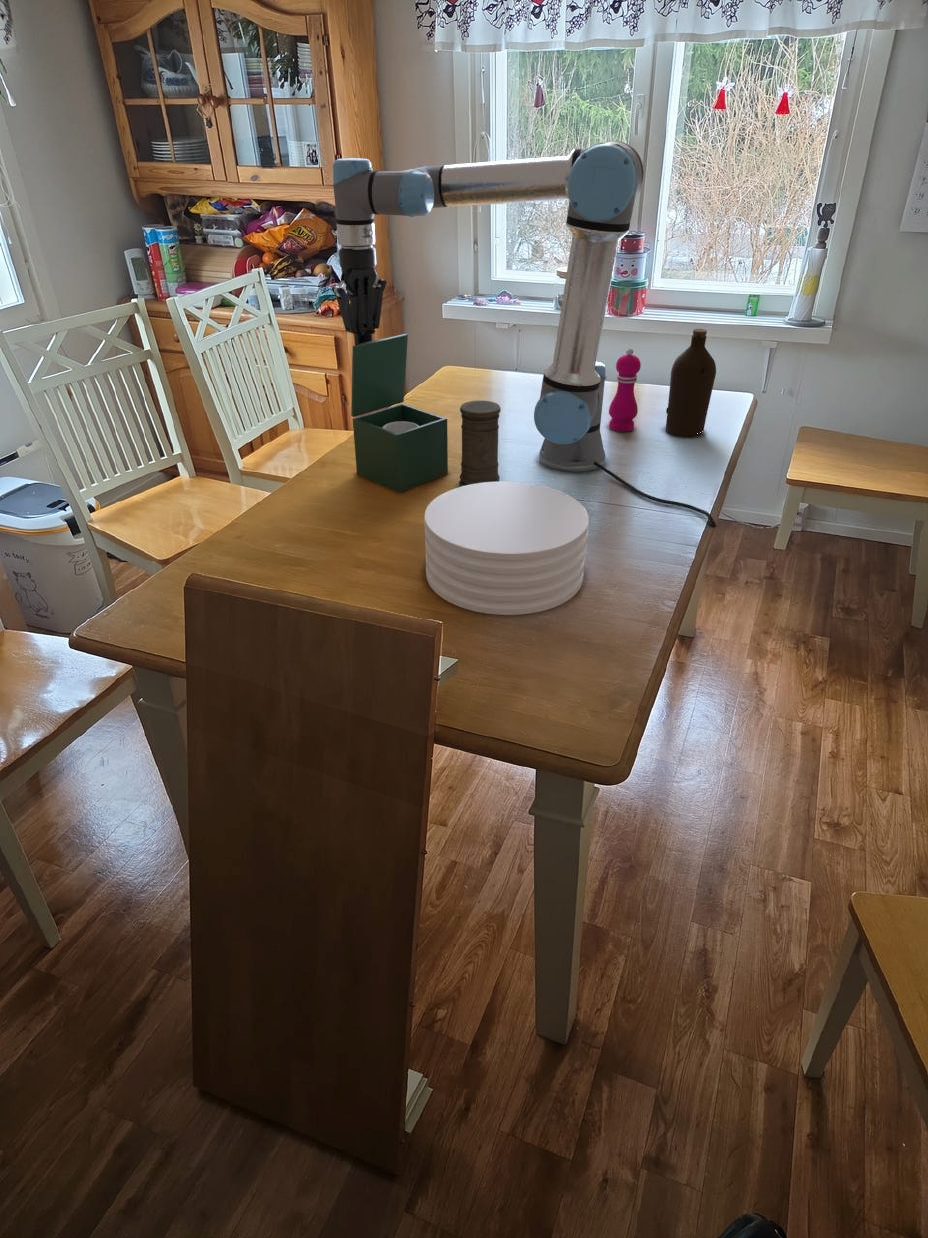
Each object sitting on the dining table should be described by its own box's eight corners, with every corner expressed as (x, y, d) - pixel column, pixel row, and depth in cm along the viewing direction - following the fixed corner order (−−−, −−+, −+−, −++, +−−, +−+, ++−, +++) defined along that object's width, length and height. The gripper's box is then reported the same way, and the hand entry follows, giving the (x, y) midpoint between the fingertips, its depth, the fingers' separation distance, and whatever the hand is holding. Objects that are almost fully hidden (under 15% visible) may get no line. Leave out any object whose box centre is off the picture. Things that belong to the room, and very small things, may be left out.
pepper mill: (639, 426, 205) (649, 347, 194) (628, 434, 200) (638, 353, 189) (613, 421, 209) (622, 343, 198) (602, 429, 204) (610, 349, 193)
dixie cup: (391, 480, 174) (389, 436, 168) (379, 466, 180) (376, 424, 175) (426, 474, 177) (425, 430, 171) (413, 461, 183) (411, 418, 178)
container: (496, 497, 168) (498, 414, 159) (455, 493, 170) (454, 411, 160) (503, 480, 176) (505, 400, 166) (463, 477, 177) (463, 397, 167)
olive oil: (714, 432, 202) (732, 330, 188) (688, 442, 196) (704, 337, 182) (680, 421, 208) (695, 322, 195) (654, 430, 203) (668, 329, 189)
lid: (408, 334, 170) (393, 327, 173) (354, 347, 162) (340, 339, 164) (403, 401, 180) (390, 394, 182) (353, 417, 171) (340, 409, 174)
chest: (448, 473, 179) (447, 418, 172) (399, 492, 170) (396, 435, 163) (404, 456, 188) (402, 403, 181) (356, 473, 179) (352, 418, 172)
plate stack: (609, 600, 134) (617, 540, 127) (450, 626, 127) (449, 564, 121) (548, 528, 156) (552, 474, 150) (410, 547, 149) (407, 491, 143)
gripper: (342, 252, 154) (352, 373, 167) (393, 244, 162) (398, 361, 175) (319, 247, 159) (330, 366, 172) (370, 240, 166) (376, 355, 179)
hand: (364, 364), depth 173 cm, fingers closed
